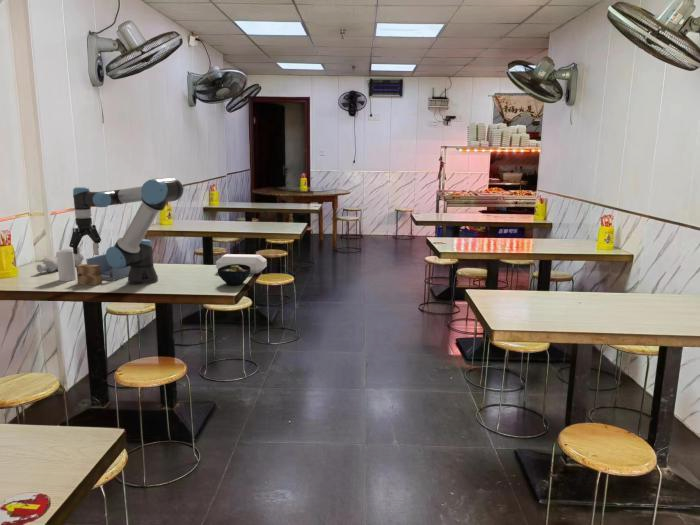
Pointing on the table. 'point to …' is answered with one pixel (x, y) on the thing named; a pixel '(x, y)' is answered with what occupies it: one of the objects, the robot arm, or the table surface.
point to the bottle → (54, 264)
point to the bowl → (234, 274)
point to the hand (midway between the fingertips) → (87, 257)
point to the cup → (66, 265)
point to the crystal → (243, 261)
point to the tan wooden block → (89, 274)
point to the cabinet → (108, 268)
